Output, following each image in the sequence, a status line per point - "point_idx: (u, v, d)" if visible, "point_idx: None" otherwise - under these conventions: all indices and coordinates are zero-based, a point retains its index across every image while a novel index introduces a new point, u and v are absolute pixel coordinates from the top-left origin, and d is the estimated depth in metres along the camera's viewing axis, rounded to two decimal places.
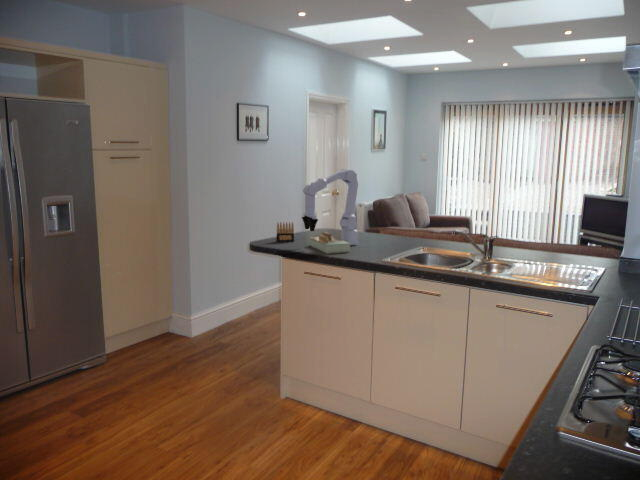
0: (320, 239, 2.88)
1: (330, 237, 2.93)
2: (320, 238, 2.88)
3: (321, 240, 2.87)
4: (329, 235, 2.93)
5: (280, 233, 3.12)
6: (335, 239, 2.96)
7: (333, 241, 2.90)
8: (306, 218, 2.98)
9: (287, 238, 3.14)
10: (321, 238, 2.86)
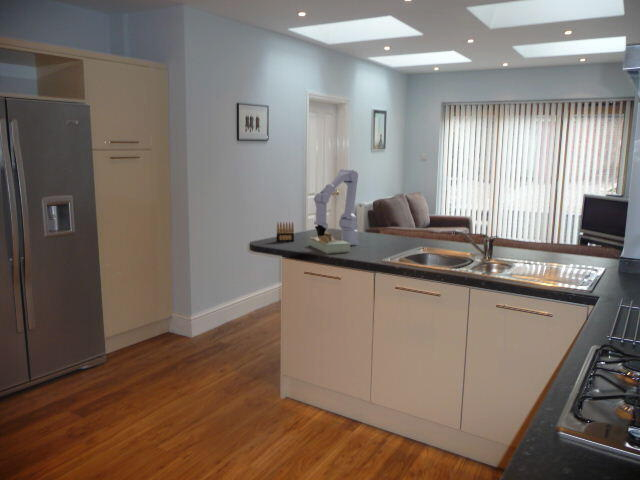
0: (320, 239, 2.87)
1: (330, 237, 2.93)
2: (320, 238, 2.87)
3: (321, 240, 2.86)
4: (329, 235, 2.93)
5: (280, 233, 3.12)
6: (335, 239, 2.96)
7: (333, 241, 2.90)
8: None
9: (287, 238, 3.14)
10: (321, 238, 2.86)
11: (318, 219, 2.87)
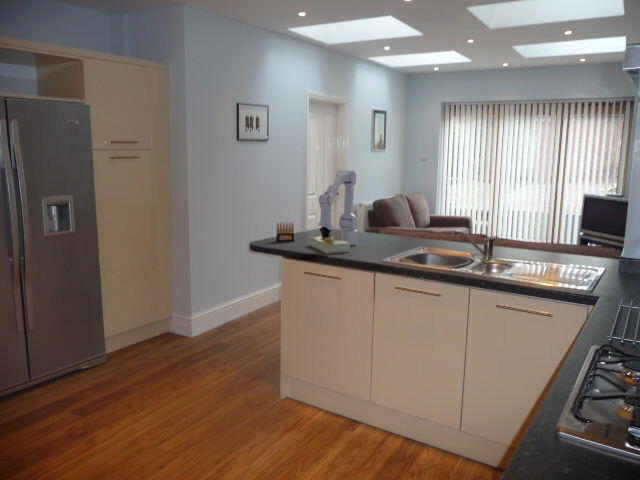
0: (325, 241, 2.82)
1: (330, 237, 2.93)
2: (325, 240, 2.82)
3: (326, 242, 2.81)
4: (329, 235, 2.93)
5: (280, 233, 3.12)
6: (335, 239, 2.96)
7: (333, 241, 2.90)
8: None
9: (287, 238, 3.14)
10: (326, 240, 2.80)
11: (323, 221, 2.81)
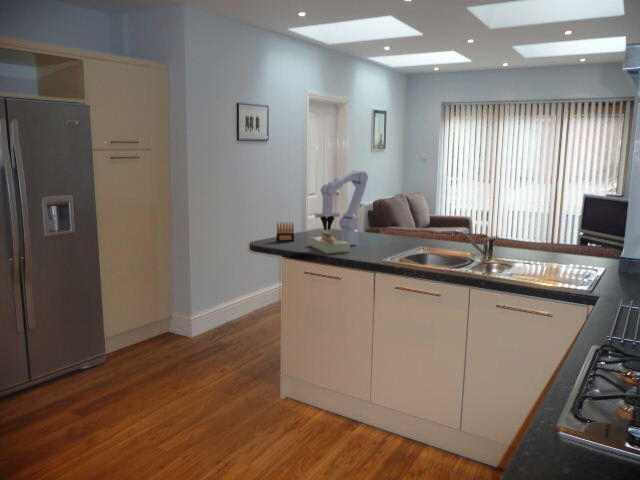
0: (325, 241, 2.82)
1: (330, 237, 2.93)
2: (325, 240, 2.82)
3: (326, 242, 2.80)
4: (329, 235, 2.93)
5: (280, 233, 3.12)
6: (335, 239, 2.96)
7: (333, 241, 2.90)
8: (328, 218, 2.96)
9: (287, 238, 3.14)
10: (326, 240, 2.80)
11: None
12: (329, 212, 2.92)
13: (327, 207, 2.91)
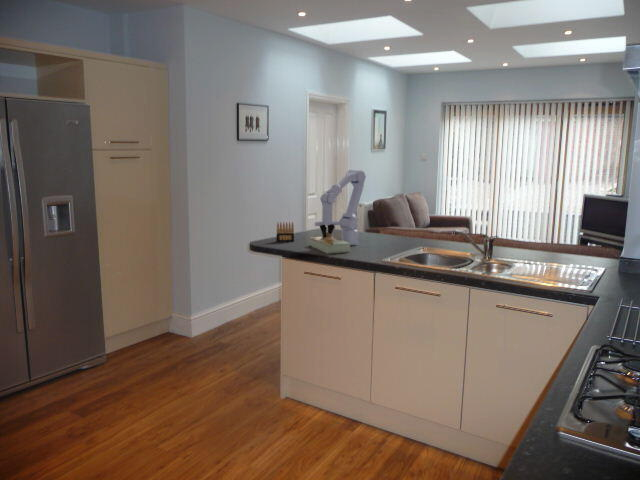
0: (325, 241, 2.82)
1: (330, 237, 2.93)
2: (325, 240, 2.82)
3: (326, 242, 2.80)
4: (329, 235, 2.93)
5: (280, 233, 3.12)
6: (335, 239, 2.96)
7: (333, 241, 2.90)
8: (328, 227, 2.97)
9: (287, 238, 3.14)
10: (326, 240, 2.80)
11: None
12: (329, 220, 2.93)
13: (327, 216, 2.92)
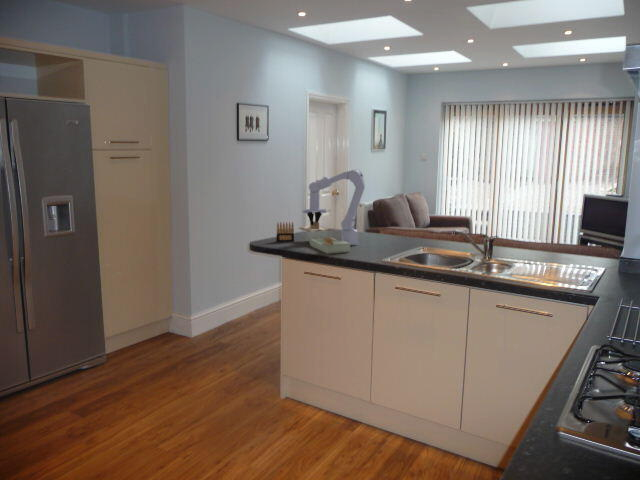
0: (325, 241, 2.82)
1: (317, 226, 3.09)
2: (325, 240, 2.82)
3: (326, 242, 2.80)
4: (316, 224, 3.08)
5: (280, 233, 3.12)
6: (322, 228, 3.12)
7: (320, 229, 3.05)
8: (316, 214, 3.13)
9: (287, 238, 3.14)
10: (326, 240, 2.80)
11: None
12: (316, 208, 3.09)
13: (314, 203, 3.08)
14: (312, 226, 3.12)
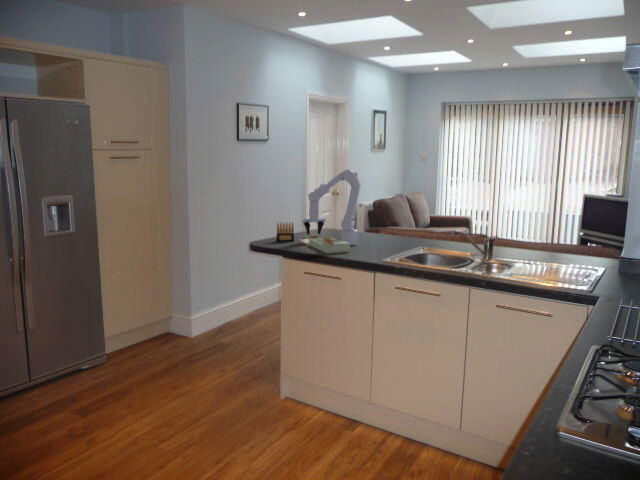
0: (325, 241, 2.82)
1: None
2: (325, 240, 2.82)
3: (326, 242, 2.80)
4: (316, 238, 3.11)
5: (280, 233, 3.12)
6: None
7: None
8: (318, 223, 3.15)
9: (287, 238, 3.14)
10: (326, 240, 2.80)
11: None
12: (315, 218, 3.10)
13: (313, 213, 3.10)
14: None
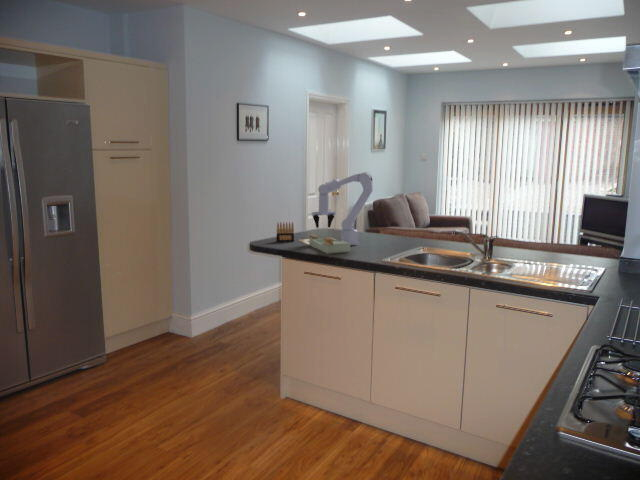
0: (325, 241, 2.82)
1: None
2: (325, 240, 2.82)
3: (326, 242, 2.80)
4: (316, 238, 3.11)
5: (280, 233, 3.12)
6: None
7: None
8: (328, 216, 3.12)
9: (287, 238, 3.14)
10: (326, 240, 2.80)
11: None
12: (325, 210, 3.07)
13: (323, 206, 3.06)
14: None
